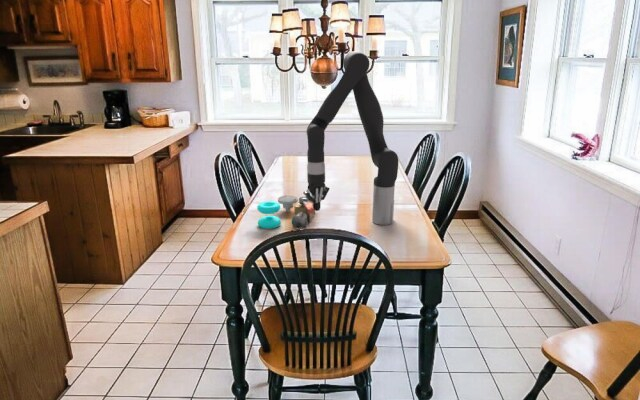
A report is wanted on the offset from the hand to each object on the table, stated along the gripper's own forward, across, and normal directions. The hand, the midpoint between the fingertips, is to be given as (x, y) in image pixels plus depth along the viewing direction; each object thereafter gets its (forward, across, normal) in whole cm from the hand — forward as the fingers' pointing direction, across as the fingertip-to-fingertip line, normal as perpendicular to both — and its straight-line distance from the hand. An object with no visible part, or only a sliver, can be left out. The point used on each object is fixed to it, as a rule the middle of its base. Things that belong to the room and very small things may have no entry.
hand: (317, 210), depth 203 cm
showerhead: (+8, +1, +24) cm, 25 cm away
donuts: (+7, -16, +14) cm, 22 cm away
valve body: (+7, +1, +10) cm, 13 cm away
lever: (0, -2, +5) cm, 5 cm away
